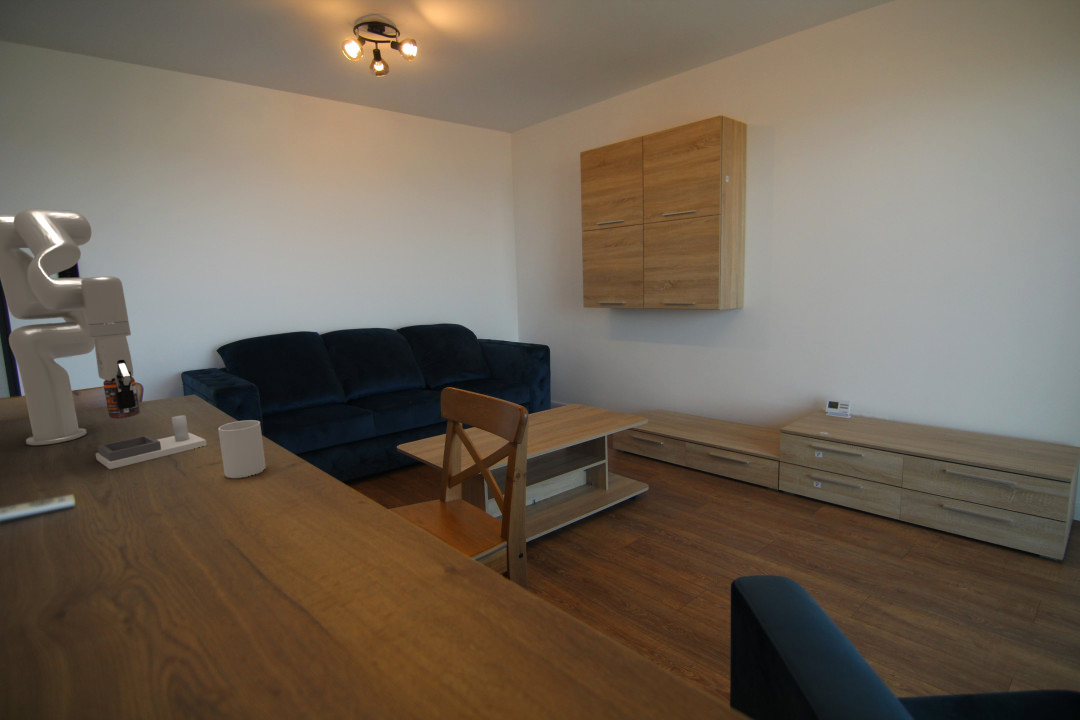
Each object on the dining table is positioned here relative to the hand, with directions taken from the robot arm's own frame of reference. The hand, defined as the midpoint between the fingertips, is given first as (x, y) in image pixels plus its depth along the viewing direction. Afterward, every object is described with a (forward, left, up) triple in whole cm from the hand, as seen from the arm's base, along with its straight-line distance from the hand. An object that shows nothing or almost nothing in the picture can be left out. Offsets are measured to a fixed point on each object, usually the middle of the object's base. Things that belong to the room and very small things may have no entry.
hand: (123, 405), depth 130 cm
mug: (+33, +12, -13) cm, 37 cm away
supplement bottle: (0, 0, -3) cm, 3 cm away
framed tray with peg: (0, +4, -13) cm, 14 cm away
